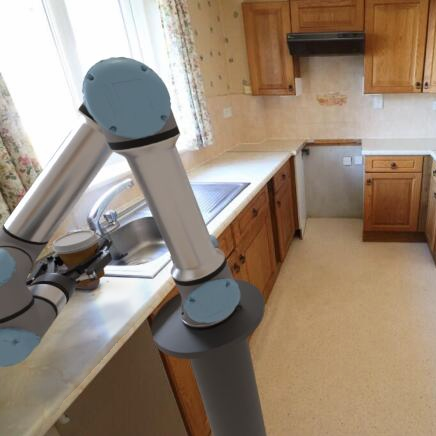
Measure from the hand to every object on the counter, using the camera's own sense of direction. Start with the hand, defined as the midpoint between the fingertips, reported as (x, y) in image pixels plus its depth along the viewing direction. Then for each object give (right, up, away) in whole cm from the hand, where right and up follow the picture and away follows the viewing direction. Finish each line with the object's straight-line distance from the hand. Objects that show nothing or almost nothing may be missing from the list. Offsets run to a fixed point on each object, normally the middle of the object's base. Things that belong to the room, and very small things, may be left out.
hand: (88, 246), depth 87 cm
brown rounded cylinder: (-14, -14, +14) cm, 24 cm away
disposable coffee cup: (+2, -8, -1) cm, 9 cm away
